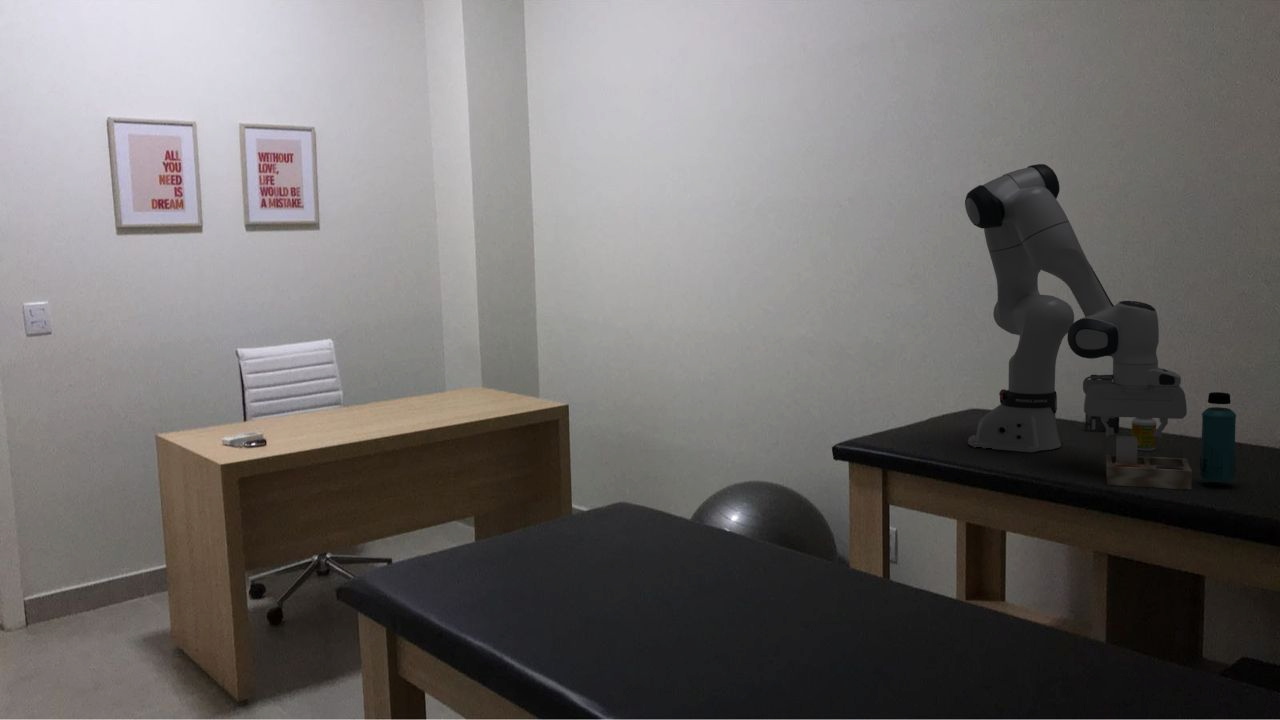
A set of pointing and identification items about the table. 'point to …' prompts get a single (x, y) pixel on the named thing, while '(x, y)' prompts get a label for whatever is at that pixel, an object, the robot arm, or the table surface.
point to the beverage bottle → (1218, 440)
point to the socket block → (1150, 472)
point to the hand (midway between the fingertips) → (1133, 436)
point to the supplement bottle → (1144, 433)
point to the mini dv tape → (1100, 424)
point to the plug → (1126, 449)
